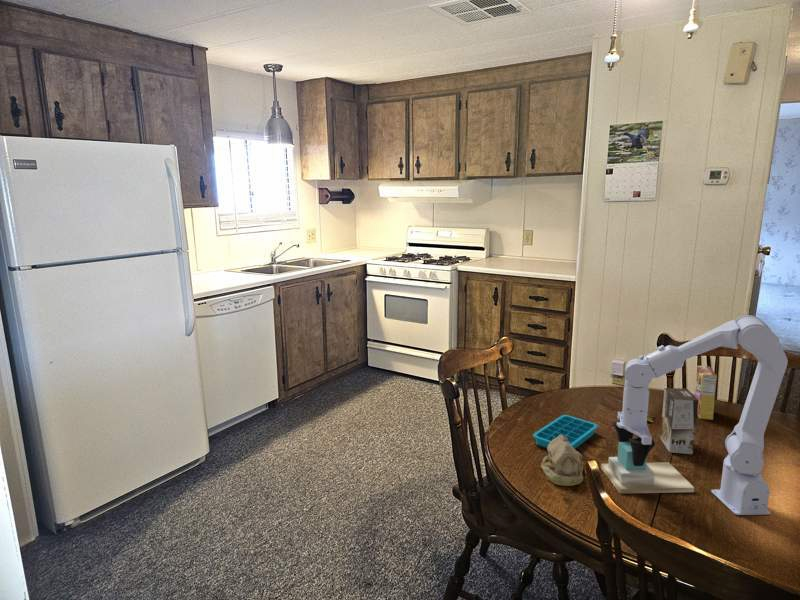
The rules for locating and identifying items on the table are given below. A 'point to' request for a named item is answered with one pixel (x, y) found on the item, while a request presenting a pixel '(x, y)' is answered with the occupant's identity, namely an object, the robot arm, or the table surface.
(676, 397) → the coffee box
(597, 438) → the table surface
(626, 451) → the teal cube
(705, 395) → the candy box
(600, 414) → the table surface
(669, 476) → the stacking base
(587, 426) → the ice cube tray
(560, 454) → the ceramic model
